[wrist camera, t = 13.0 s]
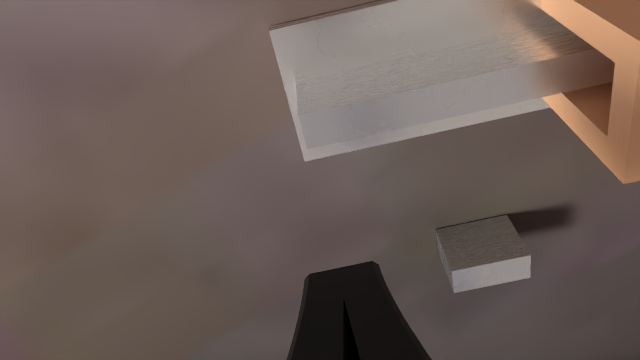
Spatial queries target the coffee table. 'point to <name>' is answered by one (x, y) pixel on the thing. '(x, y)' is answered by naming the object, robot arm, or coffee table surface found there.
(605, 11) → the clip
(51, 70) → the coffee table surface
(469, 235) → the wooden toy block
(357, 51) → the rail
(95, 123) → the coffee table surface
